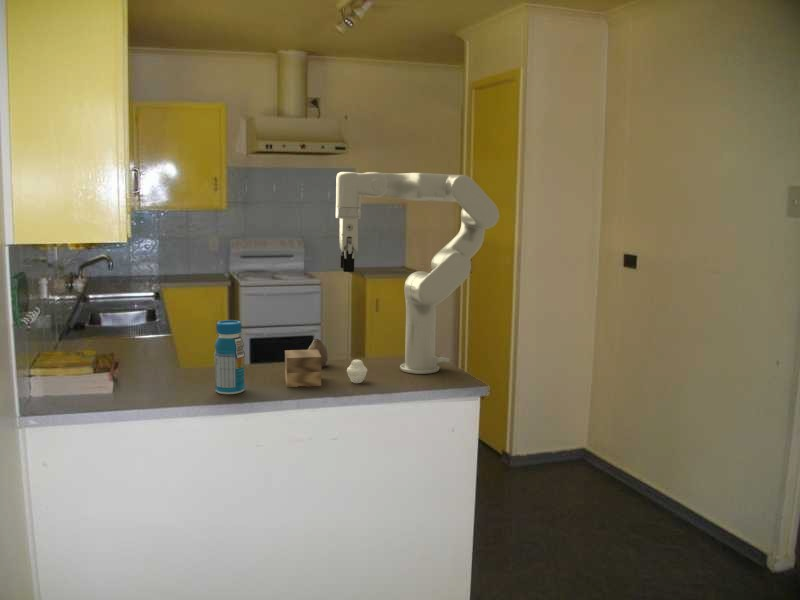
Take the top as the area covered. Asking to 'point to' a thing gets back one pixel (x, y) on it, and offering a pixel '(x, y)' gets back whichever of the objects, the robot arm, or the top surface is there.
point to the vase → (320, 350)
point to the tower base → (303, 379)
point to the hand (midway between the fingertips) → (347, 269)
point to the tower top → (303, 361)
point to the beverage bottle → (229, 358)
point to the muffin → (356, 371)
